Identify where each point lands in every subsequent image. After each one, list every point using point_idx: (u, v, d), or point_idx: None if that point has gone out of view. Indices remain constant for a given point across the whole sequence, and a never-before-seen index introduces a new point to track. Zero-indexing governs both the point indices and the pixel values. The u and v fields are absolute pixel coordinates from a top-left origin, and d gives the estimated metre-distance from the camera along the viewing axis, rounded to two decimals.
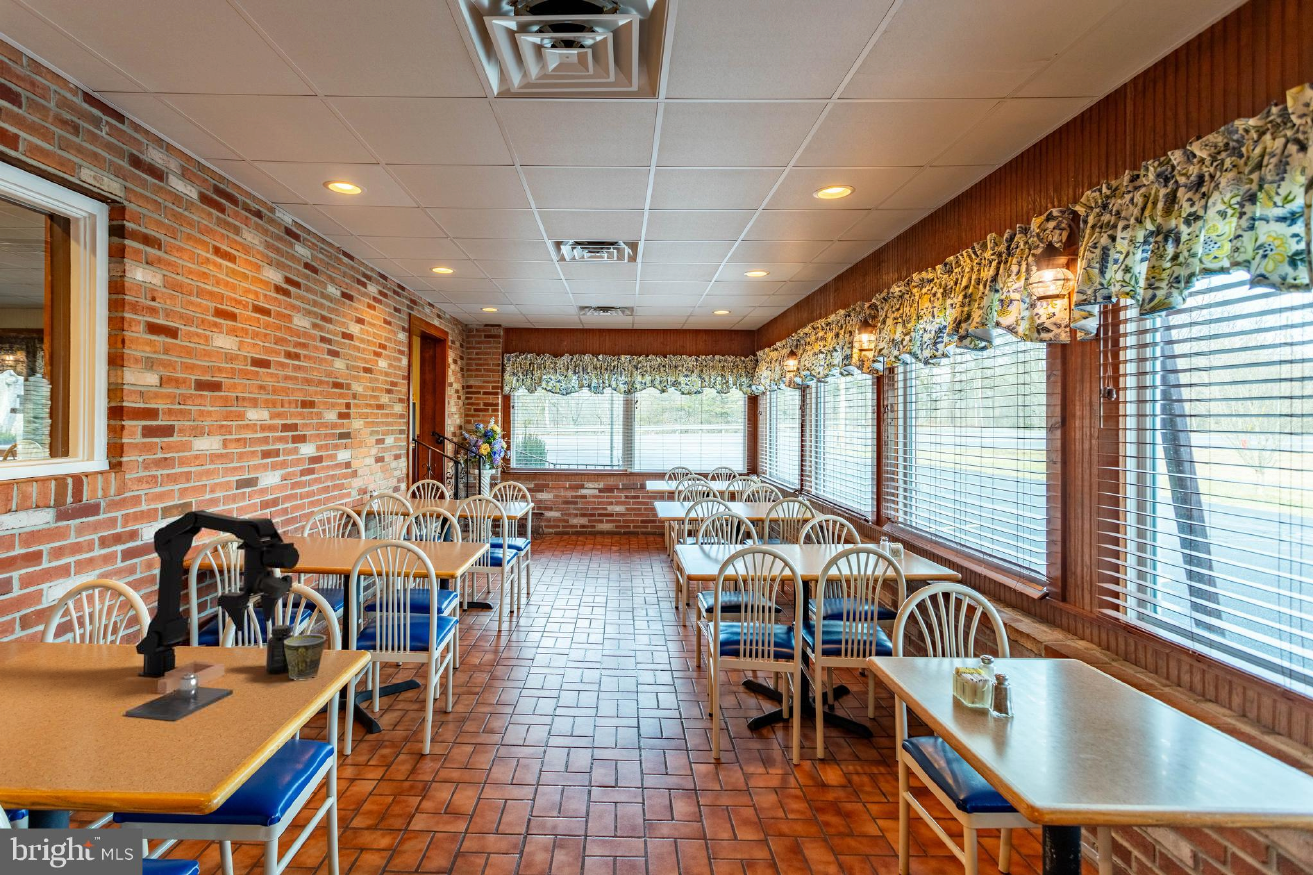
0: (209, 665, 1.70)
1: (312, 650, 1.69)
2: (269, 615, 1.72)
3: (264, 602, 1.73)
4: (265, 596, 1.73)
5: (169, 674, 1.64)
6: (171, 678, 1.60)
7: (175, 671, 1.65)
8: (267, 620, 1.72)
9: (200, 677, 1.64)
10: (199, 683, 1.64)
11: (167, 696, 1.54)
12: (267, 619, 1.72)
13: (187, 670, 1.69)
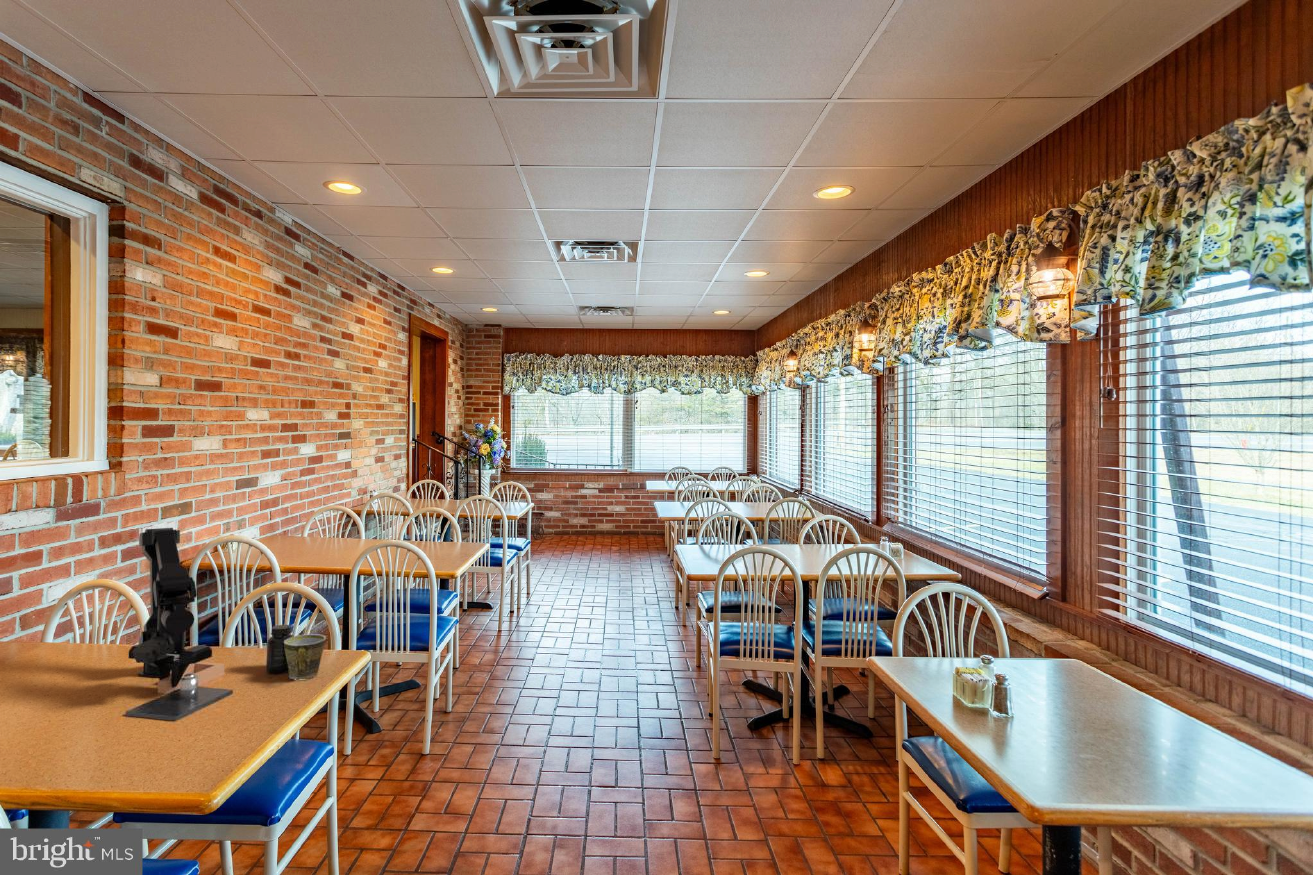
0: (209, 665, 1.70)
1: (312, 650, 1.69)
2: None
3: None
4: None
5: None
6: None
7: None
8: None
9: (200, 677, 1.64)
10: (199, 683, 1.64)
11: (167, 696, 1.54)
12: None
13: (187, 670, 1.69)
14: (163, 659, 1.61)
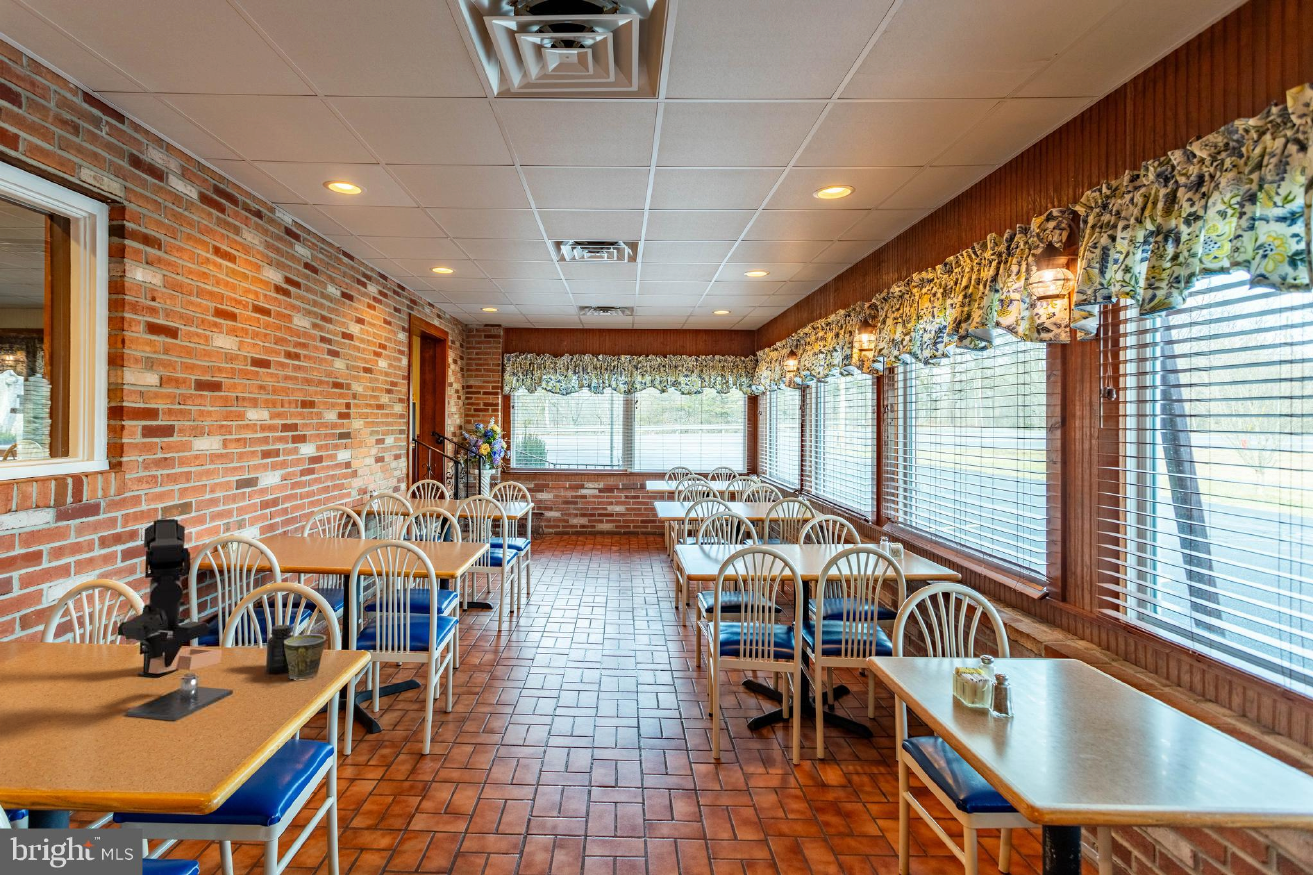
0: (206, 651, 1.57)
1: (313, 650, 1.69)
2: None
3: None
4: None
5: (163, 655, 1.51)
6: None
7: None
8: None
9: (196, 659, 1.51)
10: (194, 666, 1.50)
11: (167, 696, 1.54)
12: None
13: None
14: (156, 636, 1.47)
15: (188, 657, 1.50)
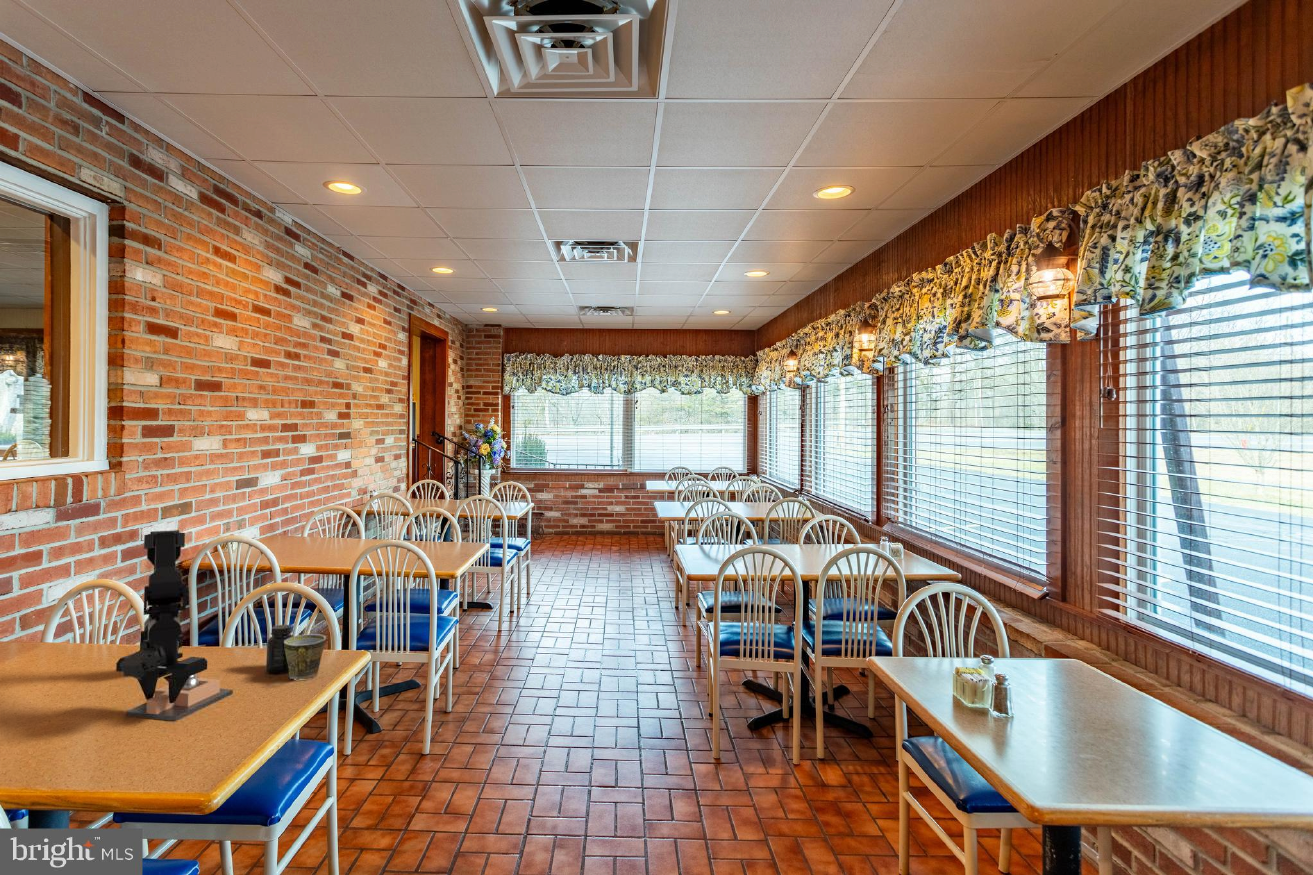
0: (203, 682, 1.57)
1: (313, 650, 1.69)
2: None
3: None
4: None
5: (160, 691, 1.50)
6: (161, 696, 1.47)
7: (166, 688, 1.51)
8: None
9: (193, 695, 1.50)
10: (192, 702, 1.50)
11: None
12: None
13: None
14: (148, 671, 1.47)
15: (185, 694, 1.49)
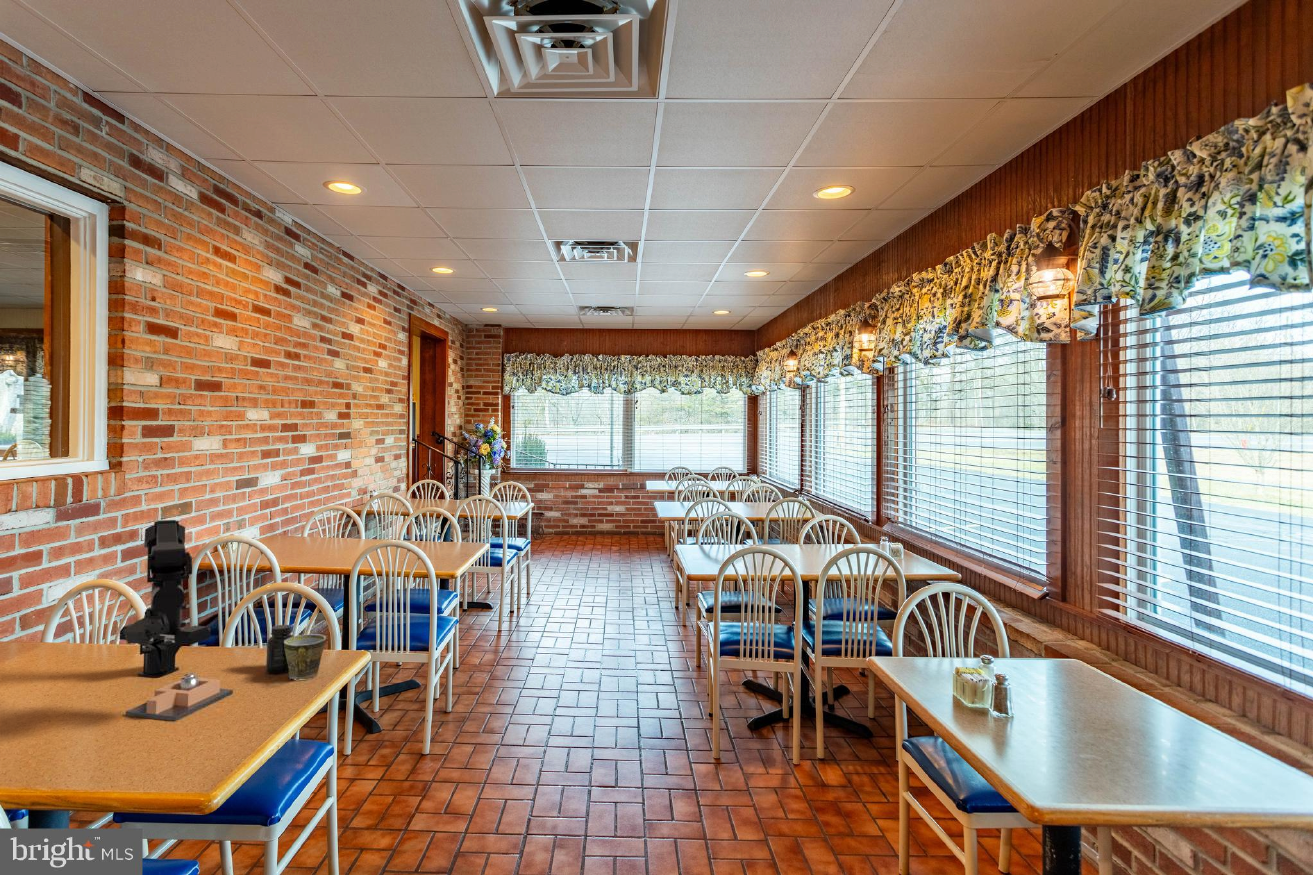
0: (203, 682, 1.57)
1: (313, 650, 1.69)
2: None
3: None
4: None
5: (160, 691, 1.50)
6: (161, 696, 1.47)
7: (166, 688, 1.51)
8: None
9: (193, 695, 1.50)
10: (192, 702, 1.50)
11: None
12: None
13: (179, 687, 1.55)
14: (162, 641, 1.48)
15: (185, 694, 1.49)
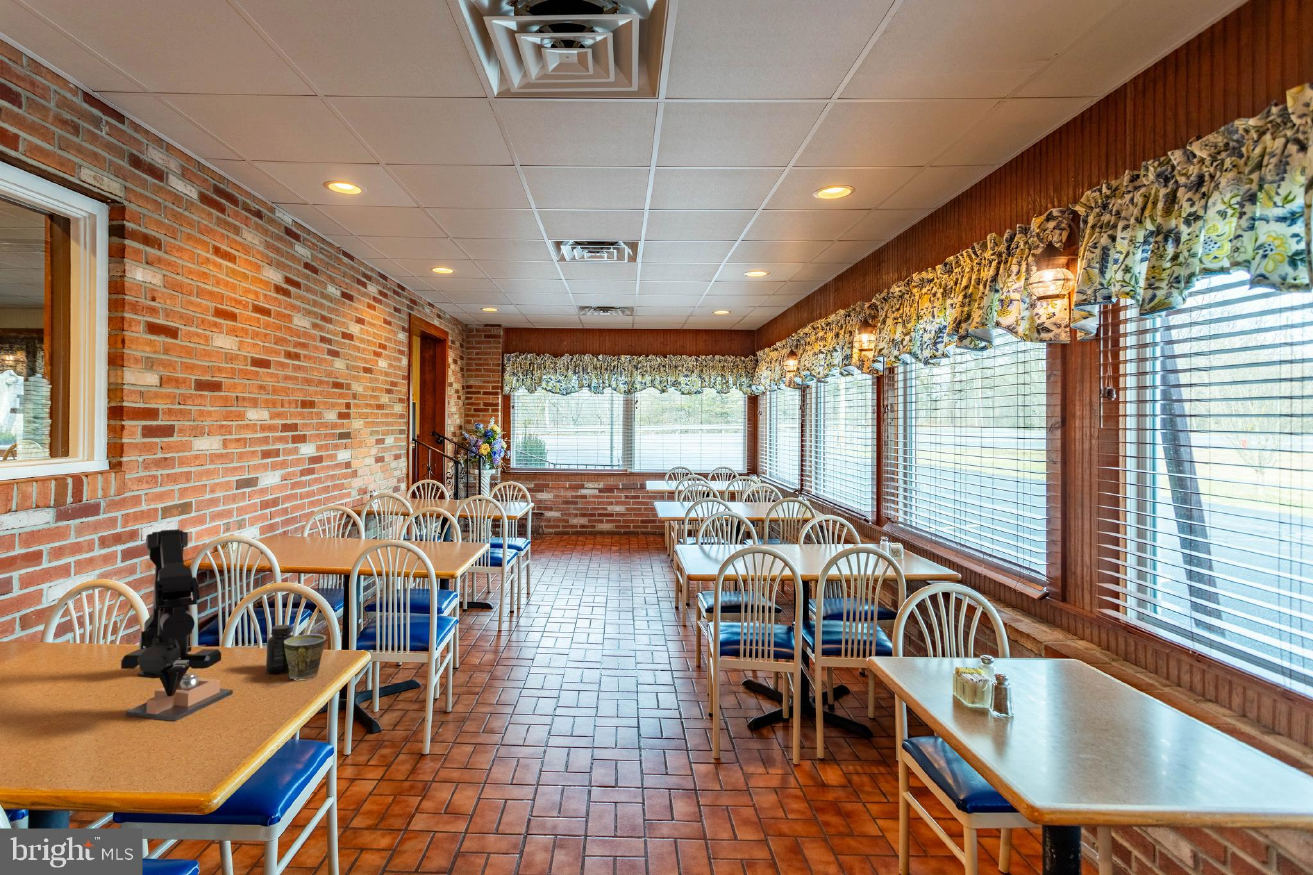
0: (203, 682, 1.57)
1: (312, 650, 1.69)
2: None
3: None
4: None
5: (160, 691, 1.50)
6: (161, 696, 1.47)
7: None
8: None
9: (193, 695, 1.50)
10: (192, 702, 1.50)
11: None
12: None
13: (179, 687, 1.55)
14: (168, 667, 1.47)
15: (185, 694, 1.49)
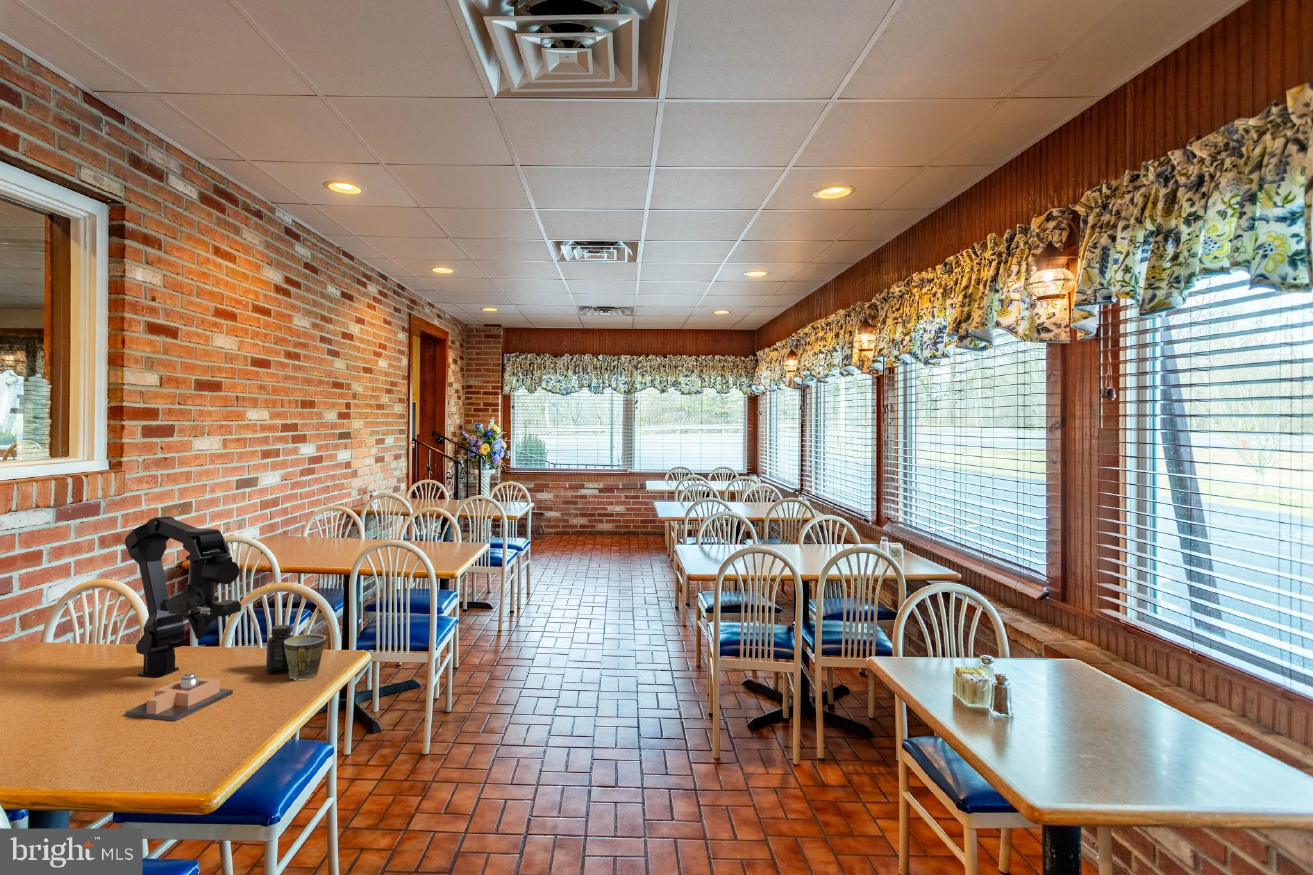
0: (203, 682, 1.57)
1: (313, 650, 1.69)
2: None
3: None
4: None
5: (160, 691, 1.50)
6: (161, 696, 1.47)
7: (166, 688, 1.51)
8: None
9: (193, 695, 1.50)
10: (192, 702, 1.50)
11: None
12: None
13: (179, 687, 1.55)
14: (197, 613, 1.65)
15: (185, 694, 1.49)
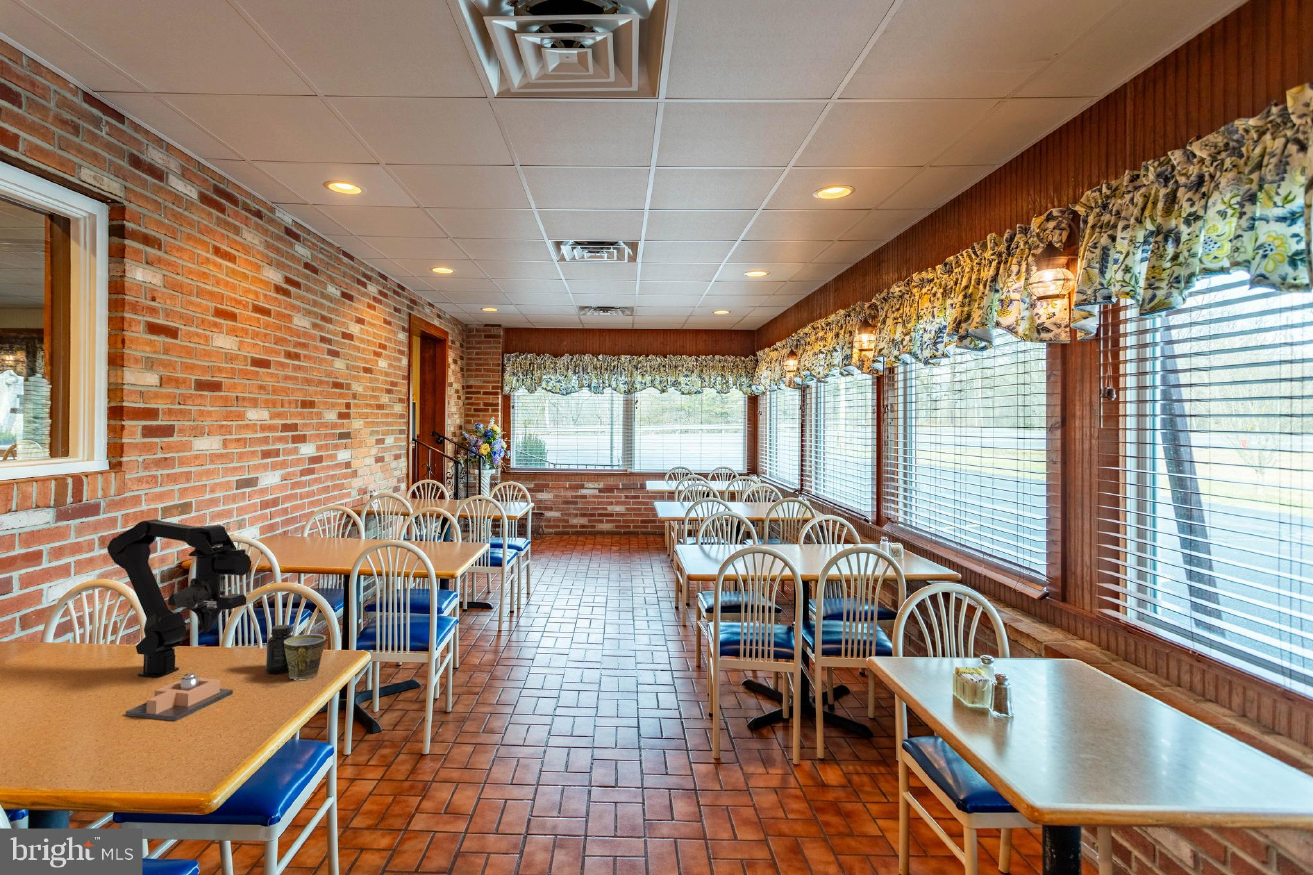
0: (203, 682, 1.57)
1: (313, 650, 1.69)
2: None
3: None
4: None
5: (160, 691, 1.50)
6: (161, 696, 1.47)
7: (166, 688, 1.51)
8: None
9: (193, 695, 1.50)
10: (192, 702, 1.50)
11: None
12: None
13: (179, 687, 1.55)
14: (204, 607, 1.70)
15: (185, 694, 1.49)
